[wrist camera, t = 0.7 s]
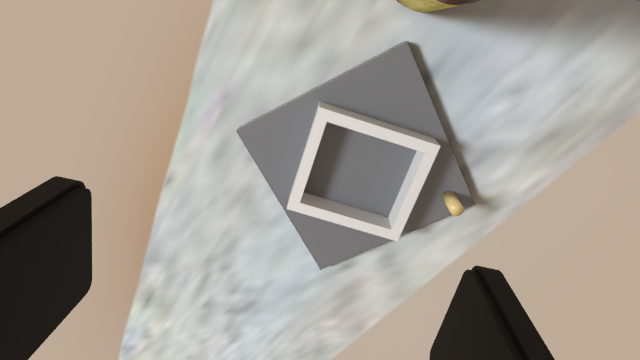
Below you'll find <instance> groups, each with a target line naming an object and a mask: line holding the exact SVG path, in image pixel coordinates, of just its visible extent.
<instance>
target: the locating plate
mask: <svg viewBox="0 0 640 360" xmlns="http://www.w3.org/2000/svg"><path fill="white" fill-rule="evenodd" d="M236 131H237V133H238V135H239V136H240V138H241V140H242V141H243V143H244V145H245V146H246V148H247V150H248V151H249V153H250V154H251V156H252V158H253V159H254V161H255V163H256V164H257V166H258V168H259V169H260V171H261V173H262V174H263V176H264V177H265V179H266V181H267V182H268V184H269V186H270V187H271V189H272V191H273V192H274V194H275V196H276V197H277V199H278V201H279V202H280V204H281V205H282V207H283V209H284V210H285V212H286V214H287V215H288V217H289V219H290V220H291V222H292V224H293V225H294V227H295V228H296V230H297V232H298V233H299V235H300V237H301V238H302V240H303V242H304V243H305V245H306V247H307V248H308V250H309V251H310V253H311V255H312V256H313V258H314V260H315V261H316V263H317V265H318V266H319V268H320V270H321V269H323V268H326V267H328V266H330V265H333V264H335V263H338V262H340V261H342V260H345V259H347V258H349V257H352V256H354V255H356V254H359V253H361V252H364V251H366V250H368V249H371V248H373V247H375V246H378V245H380V244H382V243H385V242H387V241H390V240H394V241H398V239H399V237H400V236H401V235H404V234H406V233H408V232H411V231H413V230H416V229H418V228H420V227H423V226H425V225H427V224H430V223H432V222H434V221H437V220H439V219H442V218H444V217H446V216H449V215H451V214H452V215H454V216H459V215H461V214H462V213H463V211H464V209H465V208H468V207H470V206H472V205H475V204H474V202H473V199H472V197H471V194H470V192H469V190H468V187H467V185H466V182H465V180H464V178H463V175H462V173H461V170H460V168H459V165H458V163H457V161H456V158H455V156H454V153H453V151H452V149H451V146H450V144H449V141H448V139H447V137H446V134H445V132H444V129H443V127H442V125H441V122H440V120H439V117H438V115H437V112H436V110H435V108H434V105H433V103H432V100H431V98H430V96H429V93H428V91H427V88H426V86H425V84H424V81H423V79H422V76H421V74H420V72H419V69H418V67H417V64H416V62H415V59H414V57H413V55H412V52H411V50H410V47H409V45H408V43H407V42H406V41H404V42H402V43H400V44H398V45H396V46H394V47H392V48H391V49H389V50H387V51H385V52H383V53H381V54H379V55H377V56H375V57H373V58H371V59H369V60H368V61H366V62H364V63H362V64H360V65H358V66H356V67H354V68H352V69H350V70H348V71H346V72H344V73H343V74H341V75H339V76H337V77H335V78H333V79H331V80H329V81H327V82H325V83H323V84H321V85H319V86H318V87H316V88H314V89H312V90H310V91H308V92H306V93H304V94H302V95H300V96H298V97H296V98H295V99H293V100H291V101H289V102H287V103H285V104H283V105H281V106H279V107H277V108H275V109H273V110H271V111H270V112H268V113H266V114H264V115H262V116H260V117H258V118H256V119H254V120H252V121H250V122H248V123H247V124H245V125H243V126H241V127H239V128H238V129H237V130H236Z"/></svg>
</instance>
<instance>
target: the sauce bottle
mask: <svg viewBox="0 0 640 360" xmlns="http://www.w3.org/2000/svg"><path fill="white" fill-rule="evenodd" d="M397 1H398V2H399V3H401V4H402V5H404V6H405V7H407V8H409V9H411V10H415V11H419V12H431V11H436V10H441V9H446V8H451V7H456V6H460V5H465V4H469V3H473V2H476V1H479V0H397Z"/></svg>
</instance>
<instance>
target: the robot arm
mask: <svg viewBox="0 0 640 360" xmlns="http://www.w3.org/2000/svg"><path fill="white" fill-rule="evenodd" d="M91 220H92V215H91V192H90V190H89V189H86V188H85V185H84V183H83V182H81V181H77V180H72V179H67V178H63V177H53V178H51V179H49V180H48V181H46V182H44V183H42V184H41V185H39V186H37V187H36V188H34V189H32V190H30V191H29V192H27V193H25V194H24V195H22V196H20V197H19V198H17V199H16V200H13V201H12V202H10V203H8V204H7V205H5V206H3V207H1V208H0V360H28V359H29V358H30V356H31V355H32V354H33V353H34V352H35V351H36V350H37V349H38V348H39V347H40V345H41V344H42V343H43V342H44V341H45V340H46V339H47V338H48V336H49V335H50V334H51V333H52V332H53V331H54V330H55V329H56V327H57V326H58V325H59V324H60V323H61V322H62V321H63V319H64V318H65V317H66V316H67V315H68V314H69V313H70V312H71V311H72V309H73V308H74V307H75V306H76V305H77V304H78V303H79V302H80V301H81V300H82V298H83V297H84V296H85V295H86V294H87V292H88V290H89V289H90V286H91V282H92V221H91ZM430 360H555V359H554V358H553V356H552V355H551V353H550V351H549V350H548V348H547V346H546V345H545V343H544V341H543V340H542V338H541V336H540V335H539V333H538V332H537V330H536V328H535V327H534V325H533V324H532V322H531V320H530V318H529V317H528V315H527V313H526V312H525V310H524V309H523V307H522V305H521V304H520V302H519V300H518V299H517V297H516V296H515V294H514V292H513V290H512V289H511V287H510V286H509V284H508V282H507V281H506V279H505V277H504V276H503V274H502V273H501V272H500V271H499V270H495V269H490V268H486V267H481V266H475V267H473V268H472V270H466V271H465V272H464V274H463V276H462V278H461V281H460V283H459V285H458V288H457V290H456V292H455V295H454V297H453V299H452V301H451V304H450V306H449V308H448V311H447V313H446V315H445V318H444V320H443V323H442V325H441V327H440V329H439V332H438V334H437V336H436V339H435V341H434V343H433V346H432V348H431V351H430Z"/></svg>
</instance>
